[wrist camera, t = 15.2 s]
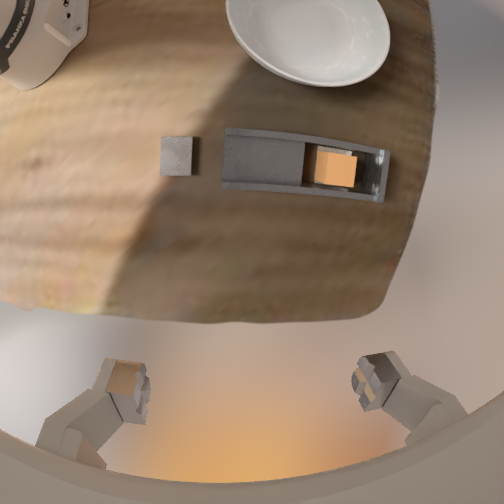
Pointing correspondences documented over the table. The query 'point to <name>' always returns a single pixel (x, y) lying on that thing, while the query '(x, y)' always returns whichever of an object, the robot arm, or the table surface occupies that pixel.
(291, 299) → the table surface
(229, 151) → the rail
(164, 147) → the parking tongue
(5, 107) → the table surface
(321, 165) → the block
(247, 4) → the serving bowl
